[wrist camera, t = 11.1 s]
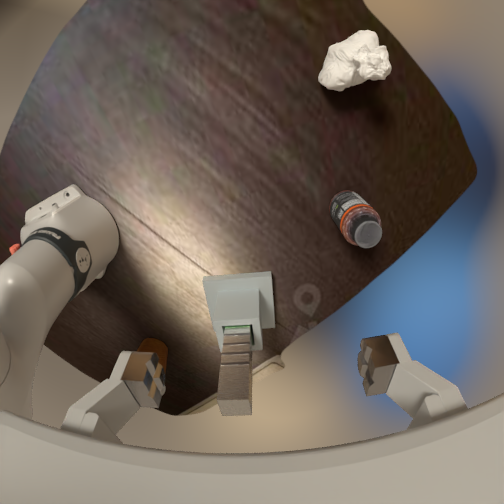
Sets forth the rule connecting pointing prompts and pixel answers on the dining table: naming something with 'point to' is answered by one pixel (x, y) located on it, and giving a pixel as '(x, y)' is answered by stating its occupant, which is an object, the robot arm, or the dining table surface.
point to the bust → (355, 62)
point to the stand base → (240, 303)
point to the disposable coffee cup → (155, 347)
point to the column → (236, 372)
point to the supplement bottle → (356, 219)
